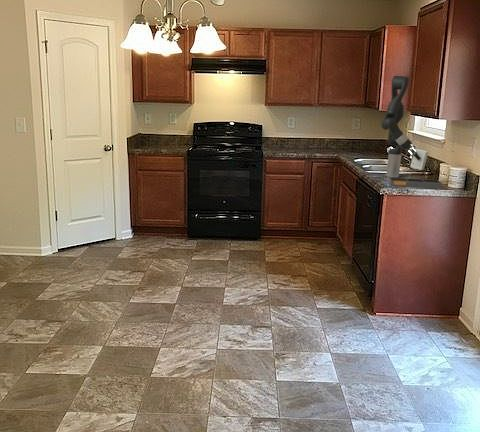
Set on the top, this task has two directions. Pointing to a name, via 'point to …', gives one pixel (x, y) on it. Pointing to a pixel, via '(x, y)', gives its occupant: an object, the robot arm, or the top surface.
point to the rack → (415, 183)
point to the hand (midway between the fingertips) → (418, 158)
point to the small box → (421, 162)
